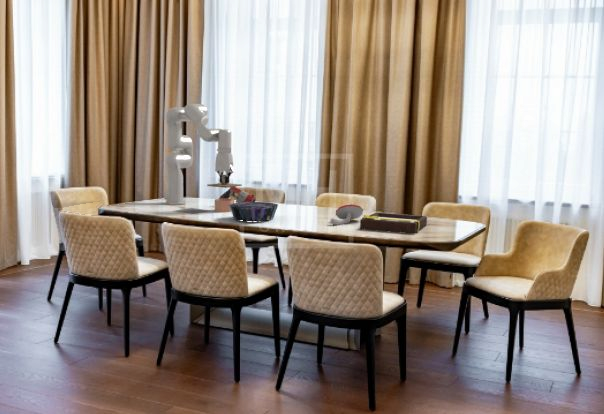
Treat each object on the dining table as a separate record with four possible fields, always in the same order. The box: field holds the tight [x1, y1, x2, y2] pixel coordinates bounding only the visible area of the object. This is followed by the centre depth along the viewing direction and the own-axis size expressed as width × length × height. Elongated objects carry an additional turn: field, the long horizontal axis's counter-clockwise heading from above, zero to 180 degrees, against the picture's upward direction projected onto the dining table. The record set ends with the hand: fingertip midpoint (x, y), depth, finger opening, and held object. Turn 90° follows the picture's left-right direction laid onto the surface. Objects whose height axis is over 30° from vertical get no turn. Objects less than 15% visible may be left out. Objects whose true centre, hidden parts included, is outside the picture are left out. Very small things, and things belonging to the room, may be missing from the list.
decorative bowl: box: [229, 201, 279, 222], centre depth 356 cm, size 26×28×10 cm
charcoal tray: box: [174, 207, 212, 215], centre depth 379 cm, size 16×16×1 cm
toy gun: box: [218, 186, 257, 203], centre depth 402 cm, size 5×22×15 cm, turn 80°
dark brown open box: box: [359, 211, 428, 234], centre depth 340 cm, size 28×7×30 cm
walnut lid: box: [206, 174, 242, 189], centre depth 379 cm, size 14×14×6 cm
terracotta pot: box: [214, 198, 235, 213], centre depth 381 cm, size 11×11×7 cm
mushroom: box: [329, 203, 364, 226], centre depth 352 cm, size 13×26×10 cm, turn 131°
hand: (224, 182), depth 380 cm, fingers closed on walnut lid, 3 cm apart
